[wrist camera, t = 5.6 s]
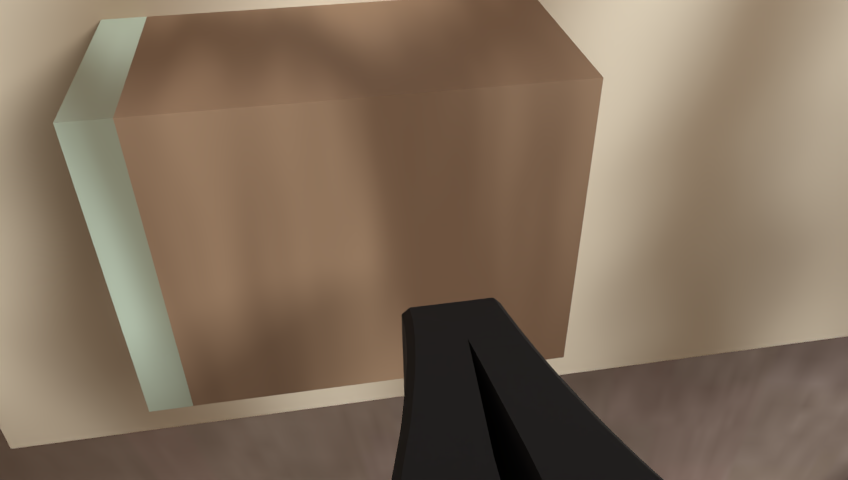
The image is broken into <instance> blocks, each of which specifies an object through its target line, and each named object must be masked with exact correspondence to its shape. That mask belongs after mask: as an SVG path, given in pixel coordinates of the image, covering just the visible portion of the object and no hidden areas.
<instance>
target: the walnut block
mask: <svg viewBox="0 0 848 480" xmlns="http://www.w3.org/2000/svg"><path fill="white" fill-rule="evenodd" d="M602 85H603V76H602V75H601V74H600V73H599V72H598V71H597V69H596V68H595V67H594V66H593V65H592V63H591V62H590V61H589V60H588V59H587V58H586V56H585V55H584V54H583V53H582V52H581V50H580V49H579V48H578V47H577V46H576V45H575V43H574V42H573V41H572V40H571V39H570V37H569V36H568V35H567V34H566V33H565V32H564V30H563V29H562V28H561V27H560V26H559V24H558V23H557V22H556V21H555V20H554V19H553V17H552V16H551V15H550V14H549V13H548V12H547V10H546V9H545V8H544V7H543V6H542V4H541V3H540V2H539V1H538V0H391V1H376V2H361V3H346V4H331V5H316V6H301V7H286V8H270V9H255V10H240V11H225V12H210V13H195V14H180V15H165V16H150V17H134V18H119V19H104V20H101V21H100V23H99V25H98V27H97V30H96V32H95V34H94V36H93V38H92V40H91V43H90V45H89V47H88V49H87V51H86V53H85V55H84V58H83V60H82V62H81V64H80V66H79V68H78V70H77V73H76V75H75V77H74V79H73V81H72V83H71V86H70V88H69V90H68V92H67V94H66V96H65V98H64V101H63V103H62V105H61V107H60V109H59V111H58V113H57V116H56V118H55V120H54V122H53V124H54V127H55V130H56V133H57V136H58V139H59V142H60V145H61V148H62V151H63V154H64V157H65V160H66V163H67V166H68V169H69V172H70V175H71V178H72V181H73V184H74V187H75V190H76V193H77V196H78V199H79V202H80V205H81V208H82V211H83V214H84V217H85V220H86V223H87V226H88V229H89V232H90V235H91V238H92V241H93V244H94V247H95V250H96V253H97V256H98V259H99V262H100V265H101V268H102V271H103V274H104V277H105V280H106V283H107V286H108V289H109V292H110V295H111V298H112V301H113V304H114V307H115V310H116V313H117V316H118V319H119V322H120V325H121V328H122V331H123V334H124V337H125V340H126V343H127V346H128V349H129V352H130V355H131V358H132V361H133V364H134V367H135V370H136V373H137V376H138V379H139V382H140V385H141V388H142V391H143V394H144V397H145V400H146V403H147V406H148V409H149V412H152V411H159V410H167V409H175V408H182V407H190V406H197V405H205V404H213V403H220V402H228V401H235V400H243V399H251V398H258V397H266V396H273V395H281V394H288V393H296V392H304V391H311V390H319V389H326V388H334V387H342V386H349V385H357V384H364V383H372V382H380V381H387V380H395V379H402V378H404V372H403V343H402V314H403V313H404V312H405V311H406V310H407V309H408V308H410V307H418V306H426V305H435V304H443V303H451V302H460V301H468V300H476V299H485V298H495V299H496V300H497V301H498V302H500V303H501V305H502V306H503V307H504V309H505V310H506V311H507V313H508V314H509V315H510V317H511V318H512V319H513V320H514V322H515V323H516V324H517V326H518V327H519V328H520V329H521V331H522V332H523V333H524V334H525V336H526V337H527V338H528V339H529V341H530V342H531V343H532V344H533V345H534V347H535V348H536V349H537V350H538V351H539V353H540V354H541V355H542V356H543V357H544V359H545V360H547V359H554V358H562V357H564V351H565V344H566V337H567V330H568V323H569V316H570V309H571V302H572V295H573V288H574V281H575V274H576V267H577V260H578V253H579V246H580V239H581V232H582V225H583V218H584V211H585V204H586V197H587V190H588V183H589V176H590V169H591V162H592V155H593V148H594V141H595V134H596V127H597V120H598V113H599V106H600V99H601V92H602Z"/></svg>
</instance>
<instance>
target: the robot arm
mask: <svg viewBox="0 0 848 480" xmlns="http://www.w3.org/2000/svg"><path fill="white" fill-rule="evenodd" d="M402 343H403V372H404V406H403V415H402V424H401V431H400V437H399V443H398V448H397V454H396V459H395V464H394V470H393V475H392V480H663V479H662V478H661V477H660V476H659V475H658V474H656V473H655V472H654V471H653V470H652V469H651V468H650V467H649V466H648V465H647V464H645V463H644V462H643V461H642V460H641V459H640V458H639V457H638V456H637V455H636V454H635V453H634V452H633V451H632V450H631V449H629V448H628V447H627V446H626V445H625V444H624V443H623V442H622V441H621V440H620V439H619V438H618V437H617V436H616V435H615V434H614V433H613V432H612V431H611V430H610V429H609V428H608V427H607V426H606V425H605V424H604V423H603V422H602V421H601V420H600V419H599V418H598V417H597V416H596V415H595V414H594V413H593V412H592V411H591V410H590V409H589V407H588V406H587V405H586V404H585V403H584V402H583V401H582V400H581V399H580V398H579V397H578V396H577V394H576V393H575V392H574V391H573V390H572V389H571V388H570V387H569V386H568V385H567V384H566V383H565V381H564V380H563V379H562V378H561V377H560V376H559V375H558V374H557V372H556V371H555V370H554V369H553V368H552V367H551V366H550V364H549V363H548V362H547V361H546V360H545V359H544V357H543V356H542V355H541V354H540V353H539V351H538V350H537V349H536V348H535V347H534V345H533V344H532V343H531V342H530V341H529V339H528V338H527V337H526V336H525V334H524V333H523V332H522V331H521V329H520V328H519V327H518V326H517V324H516V323H515V322H514V320H513V319H512V318H511V317H510V315H509V314H508V313H507V311H506V310H505V309H504V307H503V306H502V305H501V303H500V302H498V301H497V300H496V299H495V298H485V299H476V300H468V301H460V302H451V303H443V304H435V305H426V306H418V307H410V308H408V309H407V310H406V311H405V312H404V313H403V314H402Z"/></svg>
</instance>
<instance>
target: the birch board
mask: <svg viewBox="0 0 848 480" xmlns="http://www.w3.org/2000/svg"><path fill="white" fill-rule="evenodd" d="M376 1H391V0H0V429H1V431H2V433H3V435H4V437H5V438H6V440H7V442H8V444H9V446H10V448H11V449H14V448H21V447H29V446H36V445H44V444H51V443H59V442H66V441H73V440H81V439H88V438H96V437H103V436H110V435H118V434H125V433H133V432H140V431H148V430H155V429H162V428H170V427H177V426H185V425H192V424H199V423H207V422H214V421H222V420H229V419H237V418H244V417H251V416H259V415H266V414H274V413H281V412H289V411H296V410H303V409H311V408H318V407H326V406H333V405H340V404H348V403H355V402H363V401H370V400H378V399H385V398H392V397H400V396H404V378H402V379H395V380H387V381H380V382H372V383H364V384H357V385H349V386H342V387H334V388H326V389H319V390H311V391H304V392H296V393H288V394H281V395H273V396H266V397H258V398H251V399H243V400H235V401H228V402H220V403H213V404H205V405H197V406H190V407H182V408H175V409H167V410H159V411H152V412H149V409H148V406H147V403H146V400H145V397H144V394H143V391H142V388H141V385H140V382H139V379H138V376H137V373H136V370H135V367H134V364H133V361H132V358H131V355H130V352H129V349H128V346H127V343H126V340H125V337H124V334H123V331H122V328H121V325H120V322H119V319H118V316H117V313H116V310H115V307H114V304H113V301H112V298H111V295H110V292H109V289H108V286H107V283H106V280H105V277H104V274H103V271H102V268H101V265H100V262H99V259H98V256H97V253H96V250H95V247H94V244H93V241H92V238H91V235H90V232H89V229H88V226H87V223H86V220H85V217H84V214H83V211H82V208H81V205H80V202H79V199H78V196H77V193H76V190H75V187H74V184H73V181H72V178H71V175H70V172H69V169H68V166H67V163H66V160H65V157H64V154H63V151H62V148H61V145H60V142H59V139H58V136H57V133H56V130H55V127H54V124H53V122H54V120H55V118H56V116H57V113H58V111H59V109H60V107H61V105H62V103H63V101H64V98H65V96H66V94H67V92H68V90H69V88H70V86H71V83H72V81H73V79H74V77H75V75H76V73H77V70H78V68H79V66H80V64H81V62H82V60H83V58H84V55H85V53H86V51H87V49H88V47H89V45H90V43H91V40H92V38H93V36H94V34H95V32H96V30H97V27H98V25H99V23H100V21H101V20H104V19H119V18H134V17H150V16H165V15H180V14H195V13H210V12H225V11H240V10H255V9H270V8H286V7H301V6H316V5H331V4H346V3H361V2H376ZM538 1H539V2H540V3H541V4H542V6H543V7H544V8H545V9H546V10H547V12H548V13H549V14H550V15H551V16H552V17H553V19H554V20H555V21H556V22H557V23H558V24H559V26H560V27H561V28H562V29H563V30H564V32H565V33H566V34H567V35H568V36H569V37H570V39H571V40H572V41H573V42H574V43H575V45H576V46H577V47H578V48H579V49H580V50H581V52H582V53H583V54H584V55H585V56H586V58H587V59H588V60H589V61H590V62H591V63H592V65H593V66H594V67H595V68H596V69H597V71H598V72H599V73H600V74H601V75H602V76H603V85H602V92H601V99H600V106H599V113H598V120H597V127H596V134H595V141H594V148H593V155H592V162H591V169H590V176H589V183H588V190H587V197H586V204H585V211H584V218H583V225H582V232H581V239H580V246H579V253H578V260H577V267H576V274H575V281H574V288H573V295H572V302H571V309H570V316H569V323H568V330H567V337H566V344H565V351H564V357H562V358H554V359H547V360H546V361H547V362H548V363H549V364H550V366H551V367H552V368H553V369H554V370H555V371H556V372H557V374H558V375H563V374H571V373H578V372H585V371H593V370H600V369H608V368H615V367H622V366H630V365H637V364H645V363H652V362H660V361H667V360H674V359H682V358H689V357H697V356H704V355H712V354H719V353H726V352H734V351H741V350H749V349H756V348H763V347H771V346H778V345H786V344H793V343H801V342H808V341H815V340H823V339H830V338H838V337H845V336H848V0H538Z"/></svg>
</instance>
